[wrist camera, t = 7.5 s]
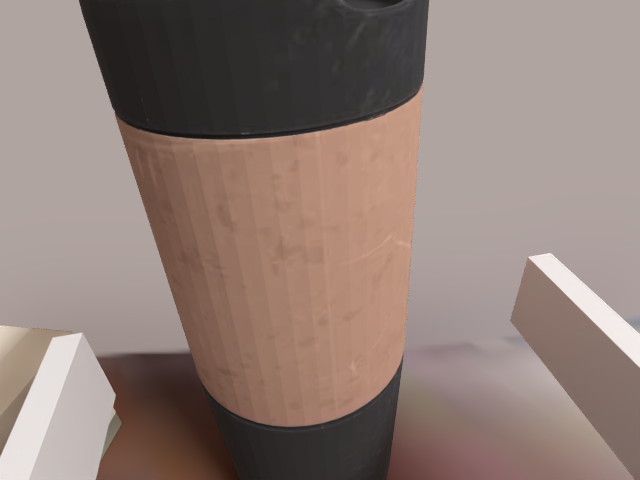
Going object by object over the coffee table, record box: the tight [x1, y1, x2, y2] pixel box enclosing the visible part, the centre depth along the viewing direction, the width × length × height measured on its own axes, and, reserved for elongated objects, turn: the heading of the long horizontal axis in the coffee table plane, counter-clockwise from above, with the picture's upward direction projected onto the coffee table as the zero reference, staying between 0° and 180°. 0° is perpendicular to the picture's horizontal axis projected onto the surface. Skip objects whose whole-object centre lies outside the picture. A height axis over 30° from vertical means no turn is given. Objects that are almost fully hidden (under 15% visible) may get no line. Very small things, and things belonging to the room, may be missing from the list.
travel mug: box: [79, 0, 429, 480], centre depth 15 cm, size 8×8×20 cm
